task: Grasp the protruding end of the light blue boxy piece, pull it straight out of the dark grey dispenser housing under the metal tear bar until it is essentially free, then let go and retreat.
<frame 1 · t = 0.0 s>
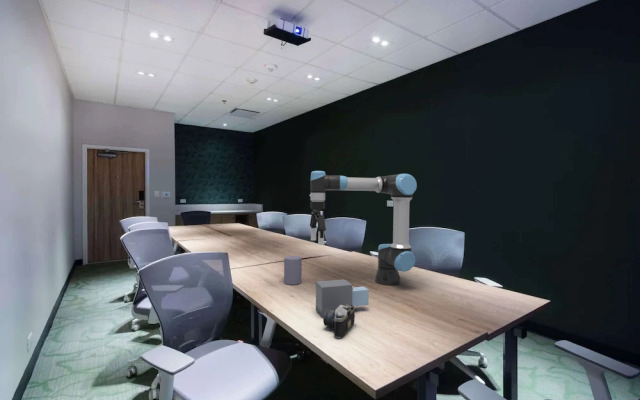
hand: (317, 242, 157), 28 cm above the table, fingers open, 13 cm apart
dispenser: (333, 312, 136), on the table
container: (292, 283, 180), on the table
light blue boxy piece: (348, 297, 138), point 6 cm above the table, slide at 0.0 cm
camera: (338, 329, 119), on the table
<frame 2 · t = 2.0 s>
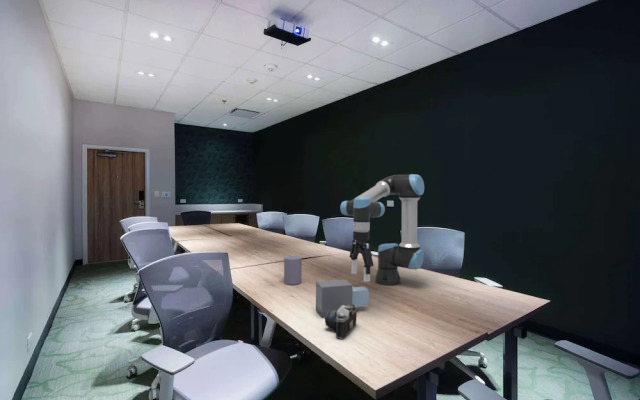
hand: (360, 277, 139), 15 cm above the table, fingers open, 13 cm apart
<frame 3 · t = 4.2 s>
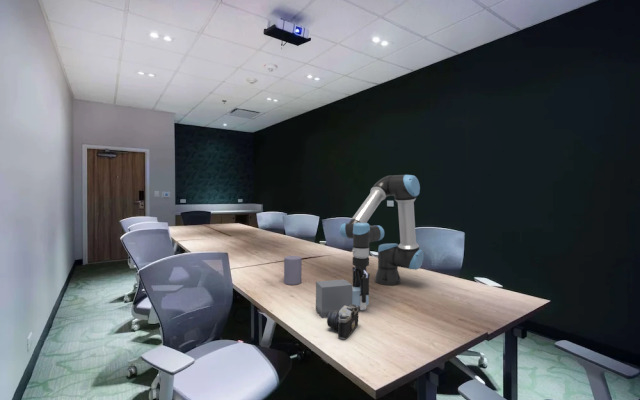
hand: (360, 306, 140), 1 cm above the table, fingers closed on light blue boxy piece, 5 cm apart
light blue boxy piece: (348, 297, 138), point 6 cm above the table, slide at 0.0 cm, touching gripper
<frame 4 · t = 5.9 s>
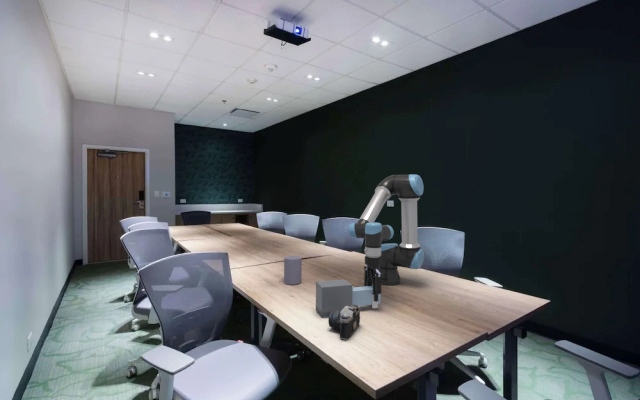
hand: (372, 305, 142), 1 cm above the table, fingers closed on light blue boxy piece, 5 cm apart
light blue boxy piece: (360, 296, 140), point 6 cm above the table, slide at 6.1 cm, touching gripper
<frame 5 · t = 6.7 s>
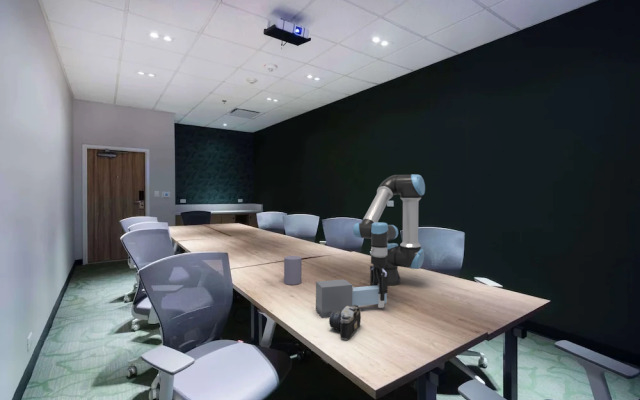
hand: (378, 304, 143), 1 cm above the table, fingers closed on light blue boxy piece, 5 cm apart
light blue boxy piece: (366, 295, 141), point 6 cm above the table, slide at 9.3 cm, touching gripper
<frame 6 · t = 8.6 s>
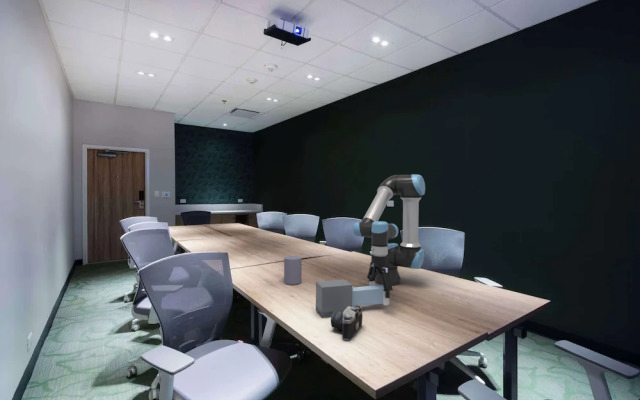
hand: (378, 299, 143), 4 cm above the table, fingers open, 13 cm apart
light blue boxy piece: (367, 295, 141), point 6 cm above the table, slide at 9.5 cm
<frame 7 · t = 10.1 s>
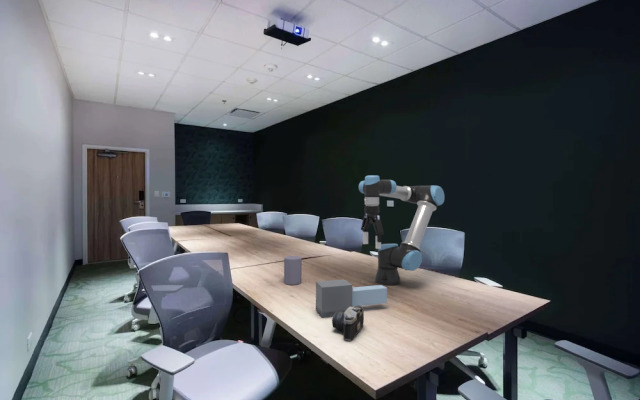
hand: (371, 246, 158), 26 cm above the table, fingers open, 13 cm apart
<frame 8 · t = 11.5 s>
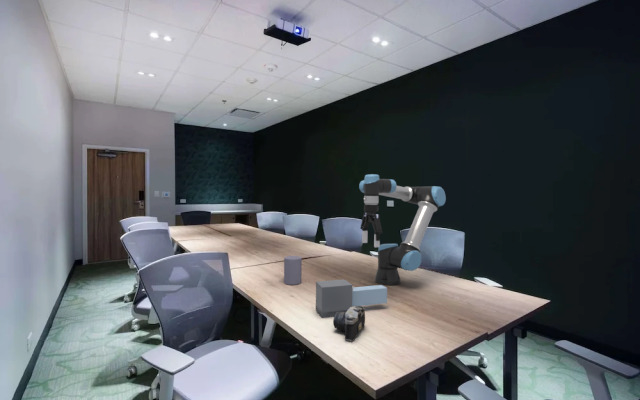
hand: (370, 244, 158), 27 cm above the table, fingers open, 13 cm apart
at the end: light blue boxy piece slide at 9.5 cm; the gripper is holding nothing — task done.
